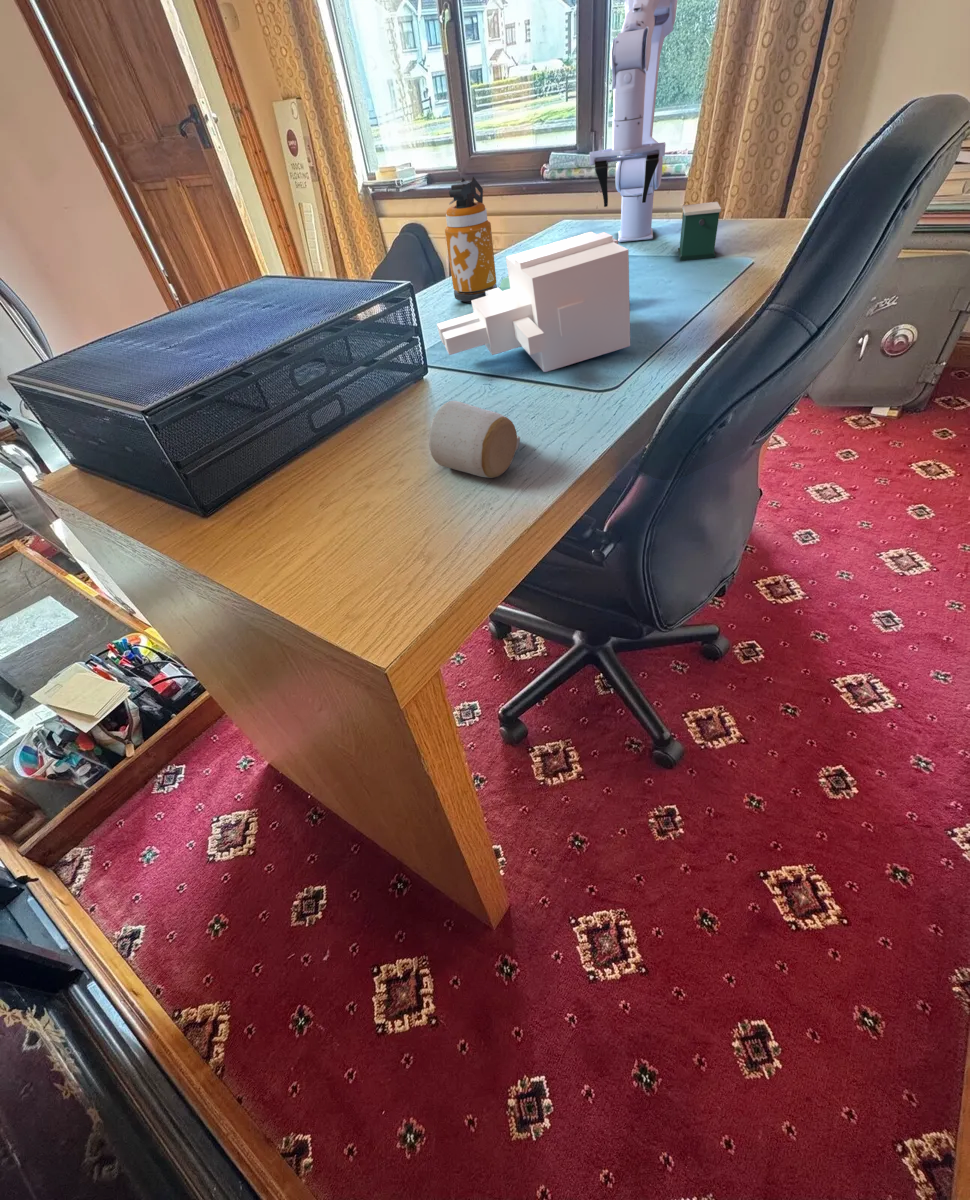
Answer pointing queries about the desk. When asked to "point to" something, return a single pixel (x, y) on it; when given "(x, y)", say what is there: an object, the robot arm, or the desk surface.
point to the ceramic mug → (472, 439)
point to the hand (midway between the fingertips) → (624, 203)
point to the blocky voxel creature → (553, 304)
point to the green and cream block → (699, 231)
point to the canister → (469, 243)
